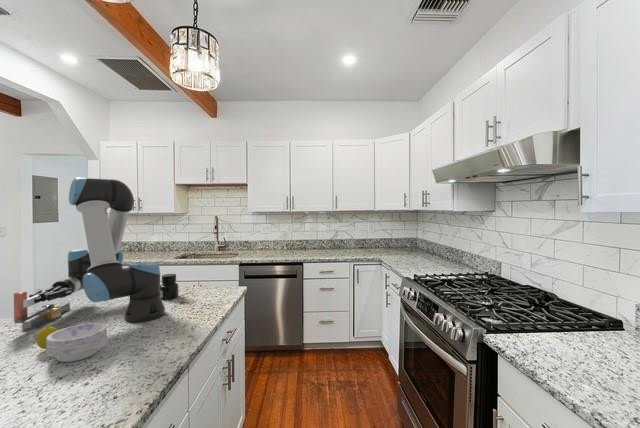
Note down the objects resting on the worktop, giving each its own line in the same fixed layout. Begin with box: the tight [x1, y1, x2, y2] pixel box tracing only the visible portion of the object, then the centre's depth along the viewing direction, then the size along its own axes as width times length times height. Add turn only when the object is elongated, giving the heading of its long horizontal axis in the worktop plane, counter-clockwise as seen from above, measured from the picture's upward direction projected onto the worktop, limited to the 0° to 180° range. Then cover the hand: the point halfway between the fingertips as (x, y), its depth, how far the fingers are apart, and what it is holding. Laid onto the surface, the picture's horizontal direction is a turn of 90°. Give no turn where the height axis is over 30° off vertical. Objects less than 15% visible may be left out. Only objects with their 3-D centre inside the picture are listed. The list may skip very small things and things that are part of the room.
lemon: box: [36, 325, 59, 350], centre depth 101 cm, size 6×6×8 cm
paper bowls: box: [45, 322, 108, 363], centre depth 97 cm, size 15×15×8 cm
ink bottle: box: [160, 273, 179, 301], centre depth 159 cm, size 10×9×12 cm
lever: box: [13, 291, 55, 324], centre depth 122 cm, size 20×4×11 cm, turn 14°
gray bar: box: [21, 302, 71, 331], centre depth 130 cm, size 6×24×4 cm, turn 11°
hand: (25, 303), depth 113 cm, fingers closed
